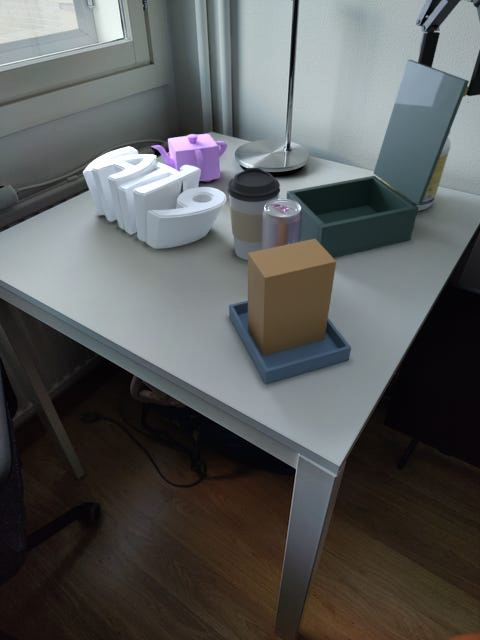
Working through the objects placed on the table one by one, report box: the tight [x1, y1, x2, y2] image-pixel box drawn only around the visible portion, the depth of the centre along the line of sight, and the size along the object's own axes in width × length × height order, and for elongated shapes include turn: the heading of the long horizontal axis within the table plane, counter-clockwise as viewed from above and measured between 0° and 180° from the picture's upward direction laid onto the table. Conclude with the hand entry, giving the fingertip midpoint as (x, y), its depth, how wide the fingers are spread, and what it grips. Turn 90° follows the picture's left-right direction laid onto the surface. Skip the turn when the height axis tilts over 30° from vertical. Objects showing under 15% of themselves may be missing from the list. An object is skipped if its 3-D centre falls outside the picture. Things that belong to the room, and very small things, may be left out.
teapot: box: [150, 133, 228, 183], centre depth 109 cm, size 18×14×10 cm
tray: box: [228, 300, 352, 385], centre depth 69 cm, size 15×13×2 cm
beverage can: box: [262, 198, 302, 250], centre depth 74 cm, size 6×6×15 cm
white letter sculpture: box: [82, 146, 227, 250], centre depth 95 cm, size 35×16×11 cm, turn 42°
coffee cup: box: [227, 167, 281, 261], centre depth 83 cm, size 9×9×15 cm
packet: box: [247, 239, 337, 356], centre depth 65 cm, size 6×10×14 cm, turn 110°
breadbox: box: [285, 175, 419, 258], centre depth 91 cm, size 20×15×7 cm
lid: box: [373, 59, 470, 205], centre depth 85 cm, size 21×15×6 cm
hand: (447, 84), depth 80 cm, fingers open, 13 cm apart
